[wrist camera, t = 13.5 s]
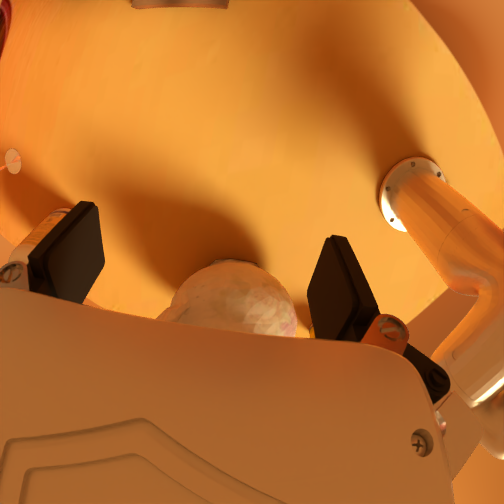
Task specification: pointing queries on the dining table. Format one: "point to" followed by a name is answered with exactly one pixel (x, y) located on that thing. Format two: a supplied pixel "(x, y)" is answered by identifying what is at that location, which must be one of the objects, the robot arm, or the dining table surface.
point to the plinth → (179, 3)
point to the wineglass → (12, 161)
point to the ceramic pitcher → (234, 300)
